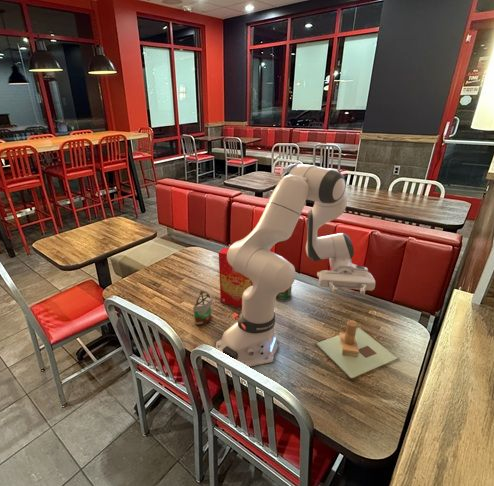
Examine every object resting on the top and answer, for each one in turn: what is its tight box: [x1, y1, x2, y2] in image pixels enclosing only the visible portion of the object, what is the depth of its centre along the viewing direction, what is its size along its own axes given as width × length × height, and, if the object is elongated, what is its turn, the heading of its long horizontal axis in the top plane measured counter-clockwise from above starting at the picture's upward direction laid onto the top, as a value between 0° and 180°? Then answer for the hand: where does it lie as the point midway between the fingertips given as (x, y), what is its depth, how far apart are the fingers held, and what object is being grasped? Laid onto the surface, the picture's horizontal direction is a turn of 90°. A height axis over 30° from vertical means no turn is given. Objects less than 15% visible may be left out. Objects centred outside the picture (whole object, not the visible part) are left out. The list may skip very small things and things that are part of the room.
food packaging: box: [218, 247, 253, 308], centre depth 132 cm, size 15×5×25 cm, turn 66°
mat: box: [316, 327, 398, 379], centre depth 108 cm, size 20×17×1 cm
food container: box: [192, 289, 213, 326], centre depth 127 cm, size 12×6×10 cm, turn 168°
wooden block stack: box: [338, 320, 359, 357], centre depth 108 cm, size 9×5×10 cm, turn 167°
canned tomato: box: [275, 284, 293, 302], centre depth 138 cm, size 8×8×11 cm
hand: (348, 292), depth 114 cm, fingers open, 8 cm apart
